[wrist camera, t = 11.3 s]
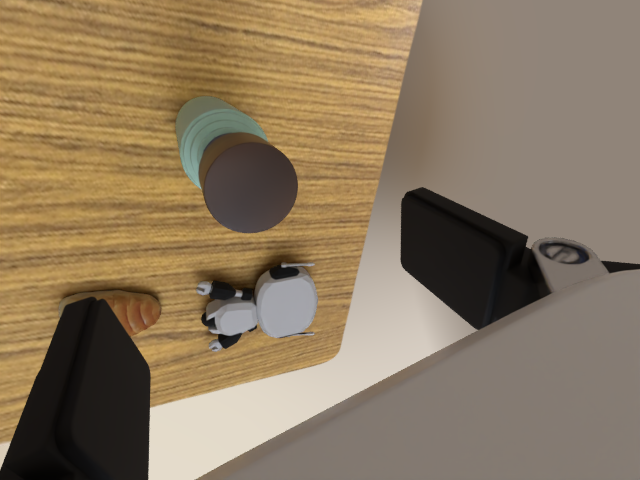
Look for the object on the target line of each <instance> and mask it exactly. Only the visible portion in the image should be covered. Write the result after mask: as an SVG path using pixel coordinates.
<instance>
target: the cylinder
mask: <svg viewBox="0 0 640 480" xmlns="http://www.w3.org/2000/svg"><path fill="white" fill-rule="evenodd" d="M198 175H199V182H200V186H201V189H202V193H203V196H204V199H205V203H206V205H207V208H208V210H209V211H210V213H211V214H212V216H213V217H214V218H215V219H216V220H217V221H218V222H219V223H220V224H222V225H223V226H225V227H226V228H228V229H231V230H233V231H237V232H242V233H257V232H262V231H265V230H268V229H270V228H272V227H274V226H275V225H277V224H278V223H280V222H281V221H282V220H283V219H284V218H285V217H286V216H287V215H288V213H289V212H290V210H291V209H292V207H293V205H294V203H295V200H296V196H297V190H298V182H297V176H296V172H295V169H294V167H293V165H292V164H291V162H290V161H289V159H288V158H287V157H286V156H285V155H284V154H283V153H282V152H281V151H279V150H278V149H277V148H275V147H274V146H273V145H271V144H270V143H269V142H267V141H266V140H264V139H263V138H261V137H259V136H257V135H254V134H251V133H246V132H236V133H230V134H227V135H224V136H222V137H220V138H218V139H216V140H215V141H214V142H212V143H211V144H210V145H209V146H208V148H207V149H206V150H205V152H204V154H203V156H202V158H201V160H200V164H199V171H198Z"/></svg>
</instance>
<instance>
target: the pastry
mask: <svg viewBox="0 0 640 480" xmlns="http://www.w3.org/2000/svg"><path fill="white" fill-rule="evenodd" d="M91 296H92V297H95V298H96V299H97V300H99V299H105V300H106V301H107V303H108V304H109V306H110V307H111V309H112V310H113V312H114V313H115V315H116V316H117V318H118V319H119V321H120V322H121V324H122V325H123V327H124V328H125V330H126V332H127V333H128V335H129V336H130V337H131V336H133V335H136V334H138V333H139V332H141V331H143V330H145V329H147V328H148V327H150V326H152V325H154V324H155V323H156V322H157V320H158V319H159V317H160V315H161V304H160V303H159V302H158V301H157V300H156V299H155V298H154V297H153V296H151V295H147V294H140V293H137V292H135V293H131V292H125V291H123V290H113V291H96V292H84V293H78V294H75V295H73V296H69V297H66V298H63V299H62V300H61V301H60V305H59V317H61V314H62V312H63V309H64V307H65V306H66V305H67V304H70V303H73V302H76V301H79V300H82V299H85V298H88V297H91Z"/></svg>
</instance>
